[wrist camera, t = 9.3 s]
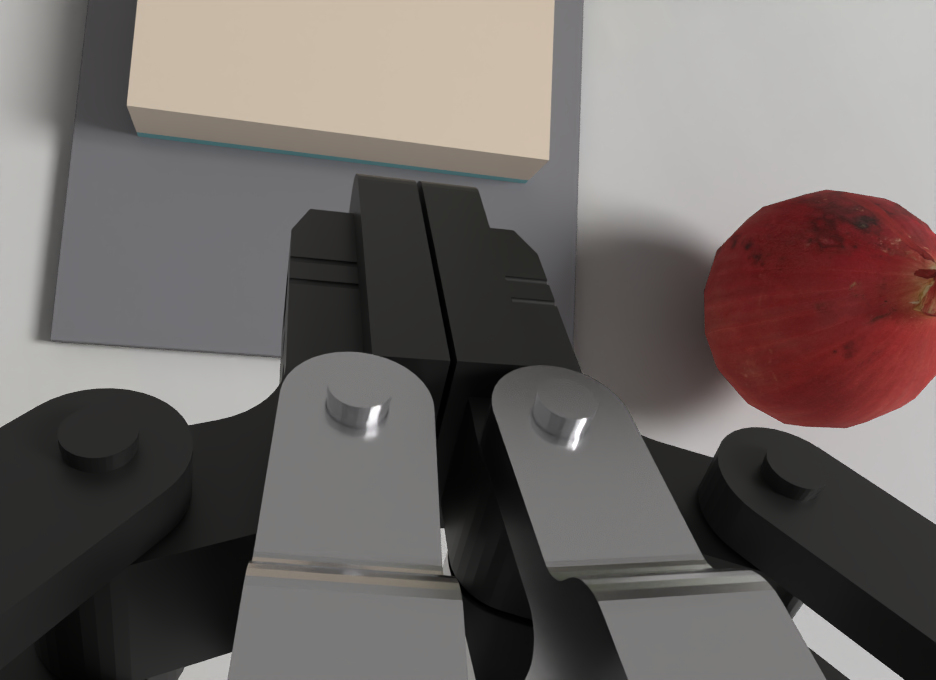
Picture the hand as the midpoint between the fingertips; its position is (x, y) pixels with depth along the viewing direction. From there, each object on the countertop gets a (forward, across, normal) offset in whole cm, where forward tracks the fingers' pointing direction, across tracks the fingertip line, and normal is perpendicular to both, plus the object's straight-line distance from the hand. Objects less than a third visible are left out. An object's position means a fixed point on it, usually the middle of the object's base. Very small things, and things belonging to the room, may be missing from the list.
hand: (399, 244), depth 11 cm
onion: (+9, -12, +7) cm, 17 cm away
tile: (+11, 0, +4) cm, 11 cm away
